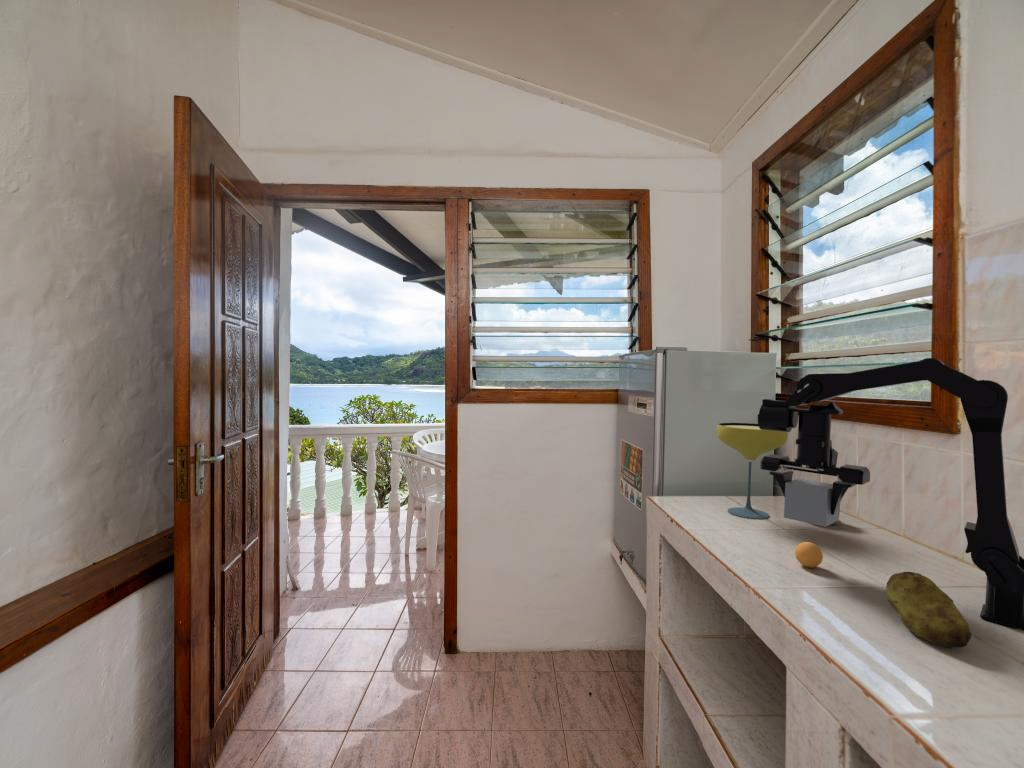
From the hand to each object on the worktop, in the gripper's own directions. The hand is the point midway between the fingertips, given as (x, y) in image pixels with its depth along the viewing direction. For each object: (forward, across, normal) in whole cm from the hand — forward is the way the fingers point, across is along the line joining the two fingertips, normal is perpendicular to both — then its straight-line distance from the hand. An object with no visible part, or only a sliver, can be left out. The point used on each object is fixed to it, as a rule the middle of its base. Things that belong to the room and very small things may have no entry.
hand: (810, 509), depth 104 cm
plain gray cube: (+2, 0, 0) cm, 2 cm away
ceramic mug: (+12, +10, -40) cm, 43 cm away
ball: (+9, 0, 0) cm, 9 cm away
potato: (+12, -21, +15) cm, 28 cm away
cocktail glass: (+12, +25, -30) cm, 41 cm away
